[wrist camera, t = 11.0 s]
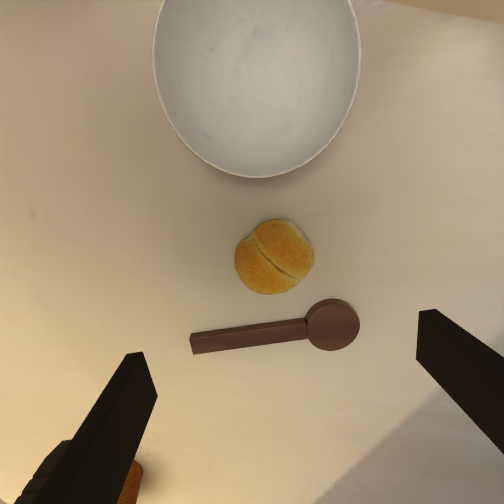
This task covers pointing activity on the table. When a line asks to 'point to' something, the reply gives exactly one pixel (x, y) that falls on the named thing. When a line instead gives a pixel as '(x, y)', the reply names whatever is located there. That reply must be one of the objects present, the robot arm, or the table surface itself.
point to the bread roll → (274, 257)
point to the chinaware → (256, 79)
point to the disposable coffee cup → (131, 485)
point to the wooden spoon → (288, 330)
